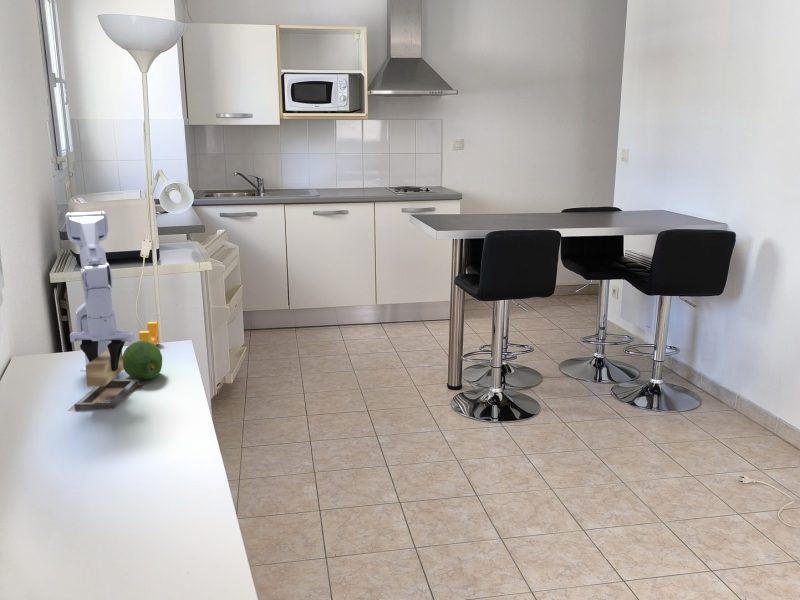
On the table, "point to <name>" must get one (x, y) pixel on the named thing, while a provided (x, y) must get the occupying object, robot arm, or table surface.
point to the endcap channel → (107, 395)
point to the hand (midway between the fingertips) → (105, 369)
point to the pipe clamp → (150, 333)
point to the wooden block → (102, 370)
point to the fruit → (142, 360)
